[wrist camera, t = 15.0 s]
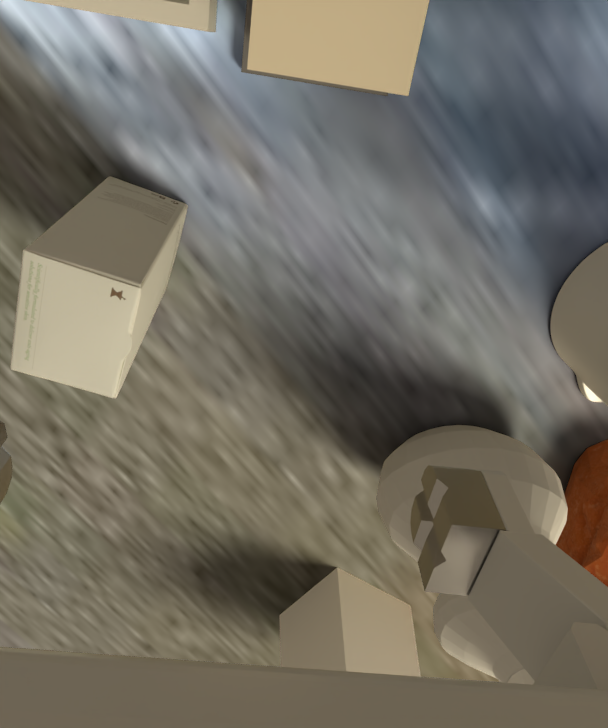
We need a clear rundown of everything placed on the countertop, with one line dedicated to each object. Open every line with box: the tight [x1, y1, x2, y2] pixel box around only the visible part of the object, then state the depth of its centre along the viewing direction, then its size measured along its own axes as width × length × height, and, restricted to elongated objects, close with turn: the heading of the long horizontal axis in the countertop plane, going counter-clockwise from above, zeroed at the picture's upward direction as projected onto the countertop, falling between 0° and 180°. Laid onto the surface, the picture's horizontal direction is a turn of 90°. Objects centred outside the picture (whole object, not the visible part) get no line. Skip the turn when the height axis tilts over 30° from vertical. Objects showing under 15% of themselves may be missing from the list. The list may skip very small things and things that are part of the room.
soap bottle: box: [376, 425, 568, 685], centre depth 42 cm, size 17×12×29 cm
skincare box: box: [11, 176, 188, 398], centre depth 36 cm, size 8×7×16 cm
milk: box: [279, 567, 421, 677], centre depth 57 cm, size 12×12×26 cm
